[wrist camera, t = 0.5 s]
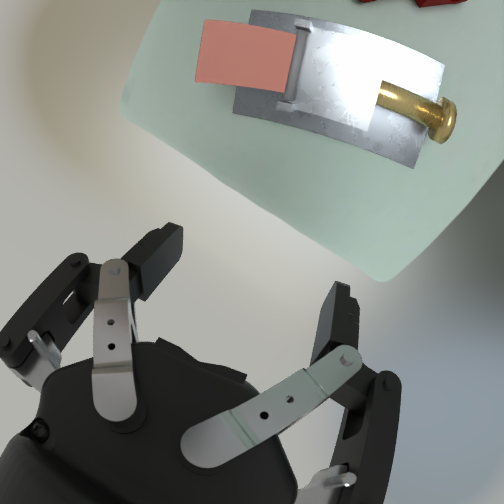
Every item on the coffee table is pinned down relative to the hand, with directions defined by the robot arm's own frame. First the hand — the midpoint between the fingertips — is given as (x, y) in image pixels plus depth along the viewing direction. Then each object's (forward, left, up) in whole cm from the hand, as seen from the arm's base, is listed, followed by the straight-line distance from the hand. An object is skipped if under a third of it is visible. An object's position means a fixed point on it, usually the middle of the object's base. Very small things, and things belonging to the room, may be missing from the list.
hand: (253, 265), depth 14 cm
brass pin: (-10, +7, -25) cm, 28 cm away
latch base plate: (-10, +1, -27) cm, 29 cm away
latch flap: (-10, -7, -15) cm, 19 cm away
